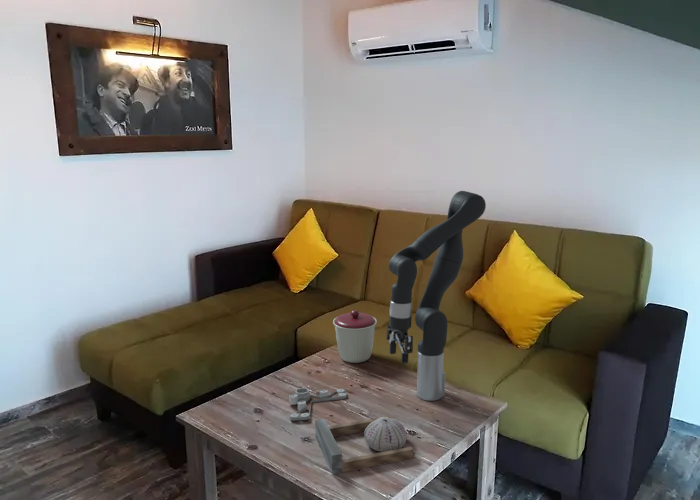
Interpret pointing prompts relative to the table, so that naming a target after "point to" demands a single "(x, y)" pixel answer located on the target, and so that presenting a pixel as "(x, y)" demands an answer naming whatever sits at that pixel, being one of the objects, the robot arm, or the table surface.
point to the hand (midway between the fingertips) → (398, 358)
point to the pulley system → (304, 395)
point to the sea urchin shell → (385, 434)
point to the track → (338, 465)
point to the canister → (355, 336)
